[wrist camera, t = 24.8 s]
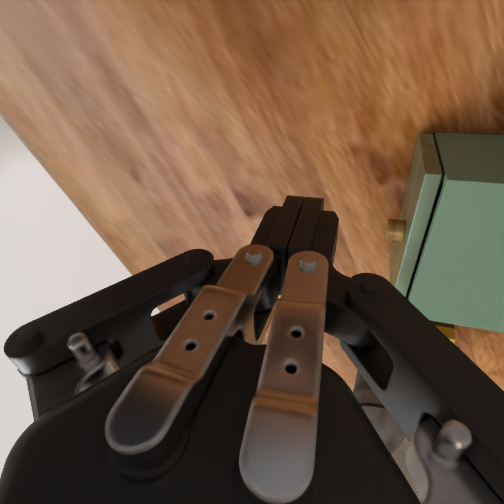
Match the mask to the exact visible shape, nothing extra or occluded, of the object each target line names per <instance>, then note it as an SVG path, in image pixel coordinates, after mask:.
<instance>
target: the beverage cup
mask: <svg viewBox="0 0 504 504" xmlns="http://www.w3.org/2000/svg"><path fill="white" fill-rule="evenodd" d="M353 394H354V395H355V397H356V399H357V400H358V402H359V404H360V405H361V407H362V408H363V410H364V412H365V413H366V415H367V417H368V418H369V420H370V421H371V423H372V425H373V426H374V428H375V429H376V431H377V433H378V434H379V436H380V438H381V439H382V441H383V442H384V444H385V446H386V447H387V449H388V450H389V452H390V454H391V453H393V452H394V451H396V450H397V449H398V448H399V447H400V445H401V443H402V442H403V440H404V438H405V435H404V433H403V432H402V431H401V429H400V428H399V426H398V425H397V424H396V422H395V421H394V420H393V418H392V417H391V415H390V414H389V413H388V411H387V410H386V408H385V407H384V406H383V404H382V403H381V401H380V400H379V399H378V397H377V396H376V394H375V393H374V392H373V390H372V389H371V388H370V386H369V385H368V383H367V382H366V381H365V379H364V378H363V376H362V375H361V374H360V372H359V371H358V370H357V376H356V381H355V386H354V392H353Z"/></svg>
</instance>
